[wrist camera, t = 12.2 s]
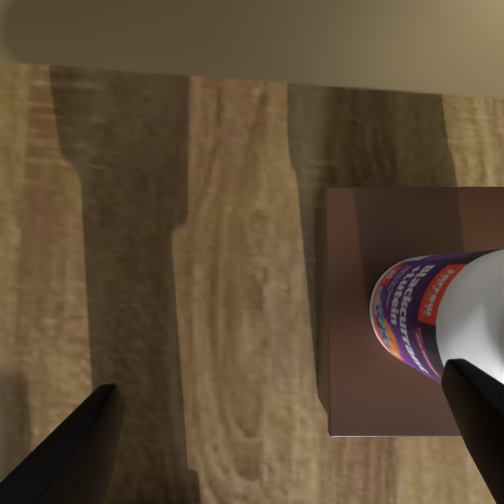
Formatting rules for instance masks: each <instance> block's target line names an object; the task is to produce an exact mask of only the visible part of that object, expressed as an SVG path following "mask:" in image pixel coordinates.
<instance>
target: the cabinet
mask: <svg viewBox="0 0 504 504" xmlns="http://www.w3.org/2000/svg"><path fill="white" fill-rule="evenodd" d="M496 249H504V187H326V188H325V190H324V202H323V203H322V204H321V205H320V206H319V207H318V208H317V209H316V277H317V351H318V398H319V400H320V401H321V403H322V405H323V407H324V409H325V411H326V412H327V414H328V433H329V435H330V436H331V437H420V436H462V435H461V433H460V431H459V428H458V426H457V423H456V421H455V418H454V416H453V414H452V411H451V409H450V406H449V404H448V401H447V399H446V397H445V394H444V392H443V389H442V386H441V383H439V382H437V381H436V380H434V379H432V378H430V377H429V376H427V375H425V374H424V373H422V372H420V371H418V370H417V369H415V368H413V367H412V366H410V365H408V364H406V363H405V362H403V361H401V360H400V359H398V358H397V357H395V356H394V355H393V354H391V353H390V352H389V351H388V350H387V349H386V348H385V347H384V346H383V345H382V343H381V342H380V341H379V339H378V338H377V336H376V334H375V332H374V329H373V326H372V323H371V319H370V300H371V295H372V292H373V289H374V287H375V285H376V283H377V281H378V280H379V279H380V277H381V276H382V275H383V274H384V273H385V272H386V271H387V270H388V269H389V268H391V267H392V266H393V265H395V264H397V263H399V262H401V261H403V260H406V259H410V258H415V257H420V256H430V255H444V254H455V253H466V252H476V251H487V250H496Z"/></svg>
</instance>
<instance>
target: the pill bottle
mask: <svg viewBox="0 0 504 504" xmlns="http://www.w3.org/2000/svg"><path fill="white" fill-rule="evenodd" d="M370 319H371V323H372V326H373V329H374V332H375V334H376V336H377V338H378V339H379V341H380V342H381V343H382V345H383V346H384V347H385V348H386V349H387V350H388V351H389V352H390V353H391V354H393V355H394V356H395V357H397V358H398V359H400V360H401V361H403V362H405V363H406V364H408V365H410V366H412V367H413V368H415V369H417V370H418V371H420V372H422V373H424V374H425V375H427V376H429V377H430V378H432V379H434V380H436V381H437V382H439V383H441V379H442V375H443V371H444V367H445V363H446V361H447V360H448V359H457V358H463V359H466V360H467V361H469V362H470V363H472V364H474V365H475V366H477V367H478V368H480V369H481V370H483V371H484V372H486V373H487V374H489V375H490V376H492V377H493V378H495V379H497V380H498V381H500V382H501V383H503V384H504V249H496V250H487V251H476V252H466V253H455V254H444V255H430V256H420V257H415V258H410V259H406V260H403V261H401V262H399V263H397V264H395V265H393V266H392V267H391V268H389V269H388V270H387V271H386V272H385V273H384V274H383V275H382V276H381V277H380V279H379V280H378V281H377V283H376V285H375V287H374V289H373V292H372V295H371V300H370Z"/></svg>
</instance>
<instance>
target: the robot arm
mask: <svg viewBox="0 0 504 504" xmlns="http://www.w3.org/2000/svg"><path fill="white" fill-rule="evenodd" d="M441 386H442V389H443V392H444V394H445V397H446V399H447V401H448V404H449V406H450V409H451V411H452V414H453V416H454V418H455V421H456V423H457V426H458V428H459V431H460V433H461V435H462V438H463V440H464V442H465V445H466V447H467V449H468V451H469V453H470V455H471V457H472V458H473V460H474V462H475V464H476V466H477V468H478V470H479V472H480V473H481V475H482V477H483V479H484V481H485V483H486V485H487V487H488V489H489V490H490V492H491V494H492V496H493V498H494V500H495V502H496V504H504V384H503V383H501V382H500V381H498V380H497V379H495V378H493V377H492V376H490V375H489V374H487V373H486V372H484V371H483V370H481V369H480V368H478V367H477V366H475V365H474V364H472V363H470V362H469V361H467V360H466V359H463V358H457V359H448V360H447V361H446V363H445V367H444V371H443V375H442V379H441ZM124 412H125V404H124V401H123V398H122V395H121V393H120V390H119V388H118V386H117V385H116V384H114V383H113V384H102V385H100V386H99V387H98V388H97V389H96V390H94V391H93V392H92V393H91V394H90V395H89V396H88V397H87V398H86V399H85V400H84V401H83V402H82V403H81V404H80V405H79V406H78V407H77V408H76V409H75V410H74V411H73V412H72V413H71V414H70V415H69V416H68V417H67V418H66V419H65V420H64V421H63V422H62V423H61V424H60V425H59V426H58V427H57V428H56V429H55V430H54V431H53V432H52V433H51V434H50V435H49V436H48V437H47V438H46V439H45V440H44V441H42V442H41V443H40V444H39V445H38V446H37V447H36V448H35V449H34V450H33V451H32V452H31V453H30V454H29V455H28V456H27V457H26V458H25V459H24V460H23V461H22V462H21V463H20V464H19V465H18V466H17V467H16V468H15V469H14V470H13V471H12V472H11V473H10V474H9V475H8V476H7V477H6V478H5V479H4V480H3V481H2V482H1V483H0V504H103V502H104V499H105V495H106V492H107V489H108V486H109V482H110V479H111V475H112V472H113V468H114V463H115V458H116V453H117V448H118V443H119V438H120V433H121V428H122V422H123V417H124Z"/></svg>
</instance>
